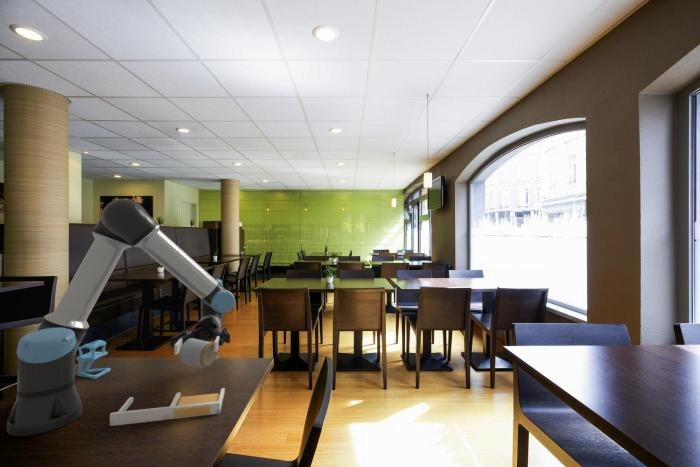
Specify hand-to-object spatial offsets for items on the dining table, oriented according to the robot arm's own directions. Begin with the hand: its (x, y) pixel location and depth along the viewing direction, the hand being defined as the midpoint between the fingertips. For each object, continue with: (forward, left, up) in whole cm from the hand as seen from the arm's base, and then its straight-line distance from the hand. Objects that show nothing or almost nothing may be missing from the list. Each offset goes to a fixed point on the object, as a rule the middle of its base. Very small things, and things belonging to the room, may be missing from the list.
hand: (196, 348), depth 99 cm
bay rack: (-7, +4, -18) cm, 19 cm away
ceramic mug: (+1, +6, -7) cm, 9 cm away
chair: (-41, +37, -18) cm, 58 cm away
